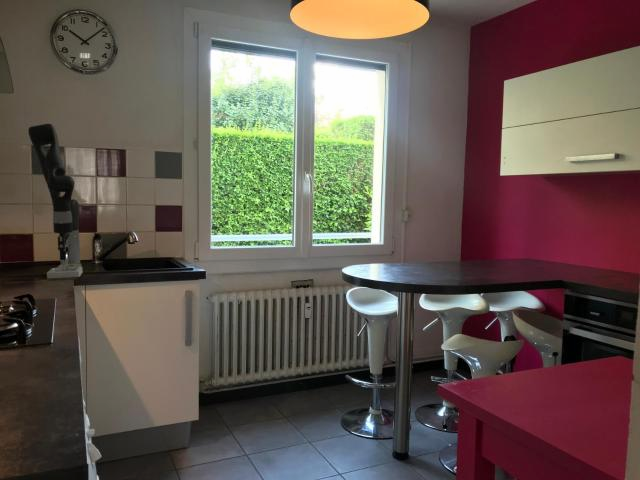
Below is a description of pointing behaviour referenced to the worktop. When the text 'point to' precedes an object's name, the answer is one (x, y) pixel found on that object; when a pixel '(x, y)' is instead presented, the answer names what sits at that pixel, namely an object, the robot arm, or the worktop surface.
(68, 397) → the worktop surface
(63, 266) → the pin
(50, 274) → the tray
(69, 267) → the pin block
